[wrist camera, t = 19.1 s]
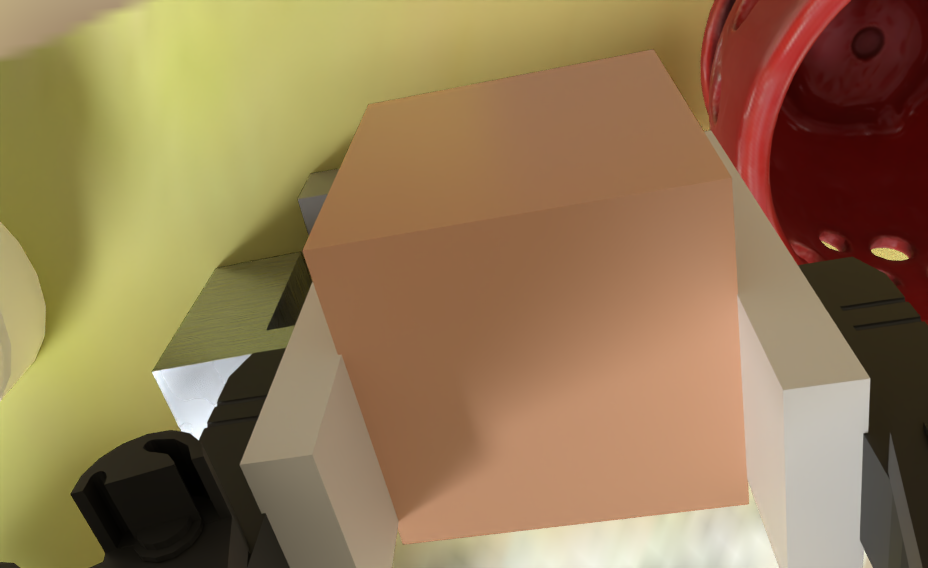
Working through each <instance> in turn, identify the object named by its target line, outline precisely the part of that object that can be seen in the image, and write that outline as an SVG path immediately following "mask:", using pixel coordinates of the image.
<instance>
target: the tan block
mask: <svg viewBox="0 0 928 568" xmlns="http://www.w3.org/2000/svg"><path fill="white" fill-rule="evenodd" d="M302 252H303V255H304V258H305V260H306V263H307V266H308V269H309V272H310V275H311V278H312V281H313V284H314V287H315V290H316V293H317V295H318V298H319V301H320V304H321V307H322V310H323V313H324V316H325V319H326V322H327V325H328V327H329V330H330V333H331V336H332V339H333V342H334V345H335V348H336V351H337V354H338V355H341V354H342V357H343V360H344V363H345V366H346V369H347V372H348V375H349V378H350V381H351V383H352V386H353V389H354V392H355V395H356V398H357V401H358V404H359V407H360V410H361V413H362V416H363V419H364V421H365V424H366V427H367V430H368V433H369V436H370V439H371V442H372V445H373V448H374V451H375V454H376V457H377V459H378V462H379V465H380V468H381V471H382V474H383V477H384V480H385V483H386V486H387V489H388V492H389V495H390V497H391V500H392V503H393V506H394V509H395V512H396V515H397V518H398V521H399V523H398V531H399V534H400V537H401V540H402V543H403V544H412V543H421V542H429V541H438V540H446V539H455V538H463V537H472V536H481V535H489V534H498V533H506V532H515V531H523V530H532V529H541V528H549V527H558V526H566V525H575V524H583V523H592V522H601V521H609V520H618V519H626V518H635V517H643V516H652V515H661V514H669V513H678V512H686V511H695V510H703V509H712V508H721V507H729V506H738V505H746V504H749V493H748V480H747V466H746V448H745V430H744V411H743V393H742V375H741V357H740V338H739V320H738V302H737V294H738V283H737V264H736V245H735V226H734V207H733V188H732V177H731V175H730V174H729V172H728V170H727V169H726V167H725V165H724V164H723V162H722V160H721V159H720V157H719V156H718V154H717V152H716V151H715V149H714V147H713V146H712V144H711V142H710V141H709V139H708V137H707V136H706V134H705V133H704V131H703V129H702V128H701V126H700V124H699V123H698V121H697V119H696V118H695V116H694V115H693V113H692V111H691V110H690V108H689V106H688V105H687V103H686V101H685V100H684V98H683V96H682V95H681V93H680V92H679V90H678V88H677V87H676V85H675V83H674V82H673V80H672V78H671V77H670V75H669V74H668V72H667V70H666V69H665V67H664V65H663V64H662V62H661V60H660V59H659V57H658V55H657V54H656V52H655V51H654V49H652V50H646V51H641V52H636V53H631V54H626V55H621V56H615V57H610V58H605V59H600V60H595V61H590V62H585V63H579V64H574V65H569V66H564V67H559V68H554V69H548V70H543V71H538V72H533V73H528V74H523V75H517V76H512V77H507V78H502V79H497V80H492V81H486V82H481V83H476V84H471V85H466V86H461V87H455V88H450V89H445V90H440V91H435V92H430V93H424V94H419V95H414V96H409V97H404V98H399V99H394V100H388V101H383V102H378V103H373V104H368V106H367V109H366V111H365V113H364V115H363V117H362V120H361V122H360V124H359V126H358V128H357V131H356V133H355V135H354V137H353V139H352V142H351V144H350V146H349V148H348V151H347V153H346V155H345V157H344V159H343V162H342V164H341V166H340V168H339V170H338V173H337V175H336V177H335V179H334V182H333V184H332V186H331V188H330V190H329V193H328V195H327V197H326V199H325V201H324V204H323V206H322V208H321V210H320V212H319V215H318V217H317V219H316V221H315V224H314V226H313V228H312V230H311V232H310V235H309V237H308V239H307V241H306V243H305V246H304V248H303V250H302Z"/></svg>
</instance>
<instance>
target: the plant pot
mask: <svg viewBox="0 0 928 568" xmlns="http://www.w3.org/2000/svg"><path fill="white" fill-rule="evenodd" d="M701 86H702V92H703V97H704V101H705V106H706V109H707V112H708V115H709V123H710V130H711V131H712V132H713V134H714V136H715V137H716V139H717V140H718V142H719V143H720V145H721V146H722V148H723V150H724V151H725V153H726V154H727V156H728V157H729V159H730V160H731V162H732V164H733V165H734V167H735V168H736V170H737V171H738V173H739V175H740V176H741V178H742V179H743V181H744V182H745V184H746V185H747V187H748V189H749V190H750V192H751V193H752V195H753V196H754V198H755V199H756V201H757V203H758V204H759V206H760V207H761V209H762V210H763V212H764V213H765V215H766V217H767V218H768V220H769V221H770V223H771V224H772V226H773V228H774V229H775V231H776V232H777V234H778V235H779V237H780V238H781V240H782V242H783V243H784V245H785V246H786V248H787V249H788V251H789V252H790V254H791V256H792V257H793V259H794V260H795V262H796V263H797V265H802V264H808V263H815V262H821V261H827V260H834V259H840V258H847V257H854V258H856V259H858V260H860V261H862V262H864V263H866V264H868V265H870V266H872V267H874V268H876V269H878V270H879V271H881V272H883V273H885V274H886V275H887V276H888V277H889V278H890V280H891V281H892V282H893V283H894V284H895V286H896V287H897V288H898V289H899V291H900V292H901V293H902V294H903V295H904V297H905V301H906V302H909V303H910V304H911V305H912V306H913V308H914V309H915V310H916V311H917V313H918V314H919V315H920V316H921V321H922V322H923V321H925V322H926V324H927V325H928V0H715V1H714V3H713V6H712V8H711V11H710V14H709V17H708V21H707V24H706V28H705V32H704V37H703V43H702V50H701ZM821 241H824V242H826V243H828V244H830V245H832V246H834V247H835V248H837V249H838V250H839V251H836V250H833V249H829V248H828V247H826V246H825V245H824V244H823V243H822V242H821ZM874 248H890V249H895V250H898V251H900V252H902V253H904V254H905V255H907V256H908V258H909V259H907V260H904V261H892V260H886V259H884V258H881V257H878V256H875V255H874V254H873V253H872V252H871V250H872V249H874Z"/></svg>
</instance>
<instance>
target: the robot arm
mask: <svg viewBox="0 0 928 568" xmlns="http://www.w3.org/2000/svg"><path fill="white" fill-rule="evenodd" d="M704 133H705V134H706V136H707V137H708V139H709V141H710V142H711V144H712V146H713V147H714V149H715V151H716V152H717V154H718V156H719V157H720V159H721V160H722V162H723V164H724V165H725V167H726V169H727V170H728V172H729V174H730V175H731V177H732V188H733V207H734V226H735V245H736V264H737V283H738V294H737V302H738V320H739V338H740V357H741V375H742V393H743V411H744V430H745V448H746V466H747V480H748V483H749V486H750V488H751V491H752V494H753V497H754V499H755V502H756V505H757V508H758V510H759V513H760V516H761V519H762V521H763V524H764V527H765V530H766V532H767V535H768V538H769V541H770V543H771V546H772V549H773V552H774V554H775V557H776V560H777V563H778V566H779V568H863V554H864V550H865V552H866V554H867V556H868V558H869V560H870V562H871V564H872V566H873V568H928V325H927V324H926V322H925V321H923V322H922V321H921V316H920V315H919V314H918V313H917V311H916V310H915V309H914V308H913V306H912V305H911V304H910V303H909V302H906V301H905V297H904V295H903V294H902V293H901V292H900V291H899V289H898V288H897V287H896V286H895V284H894V283H893V282H892V281H891V280H890V278H889V277H888V276H887V275H886V274H885V273H883V272H881V271H879V270H878V269H876V268H874V267H872V266H870V265H868V264H866V263H864V262H862V261H860V260H858V259H856V258H854V257H847V258H840V259H834V260H827V261H821V262H815V263H808V264H802V265H797V263H796V262H795V260H794V259H793V257H792V256H791V254H790V252H789V251H788V249H787V248H786V246H785V245H784V243H783V242H782V240H781V238H780V237H779V235H778V234H777V232H776V231H775V229H774V228H773V226H772V224H771V223H770V221H769V220H768V218H767V217H766V215H765V213H764V212H763V210H762V209H761V207H760V206H759V204H758V203H757V201H756V199H755V198H754V196H753V195H752V193H751V192H750V190H749V189H748V187H747V185H746V184H745V182H744V181H743V179H742V178H741V176H740V175H739V173H738V171H737V170H736V168H735V167H734V165H733V164H732V162H731V160H730V159H729V157H728V156H727V154H726V153H725V151H724V150H723V148H722V146H721V145H720V143H719V142H718V140H717V139H716V137H715V136H714V134H713V132H712V131H711V130H709V131H704ZM71 496H72V498H73V499H74V501H75V503H76V504H77V506H78V508H79V509H80V511H81V513H82V514H83V516H84V518H85V519H86V521H87V523H88V525H89V526H90V528H91V530H92V531H93V533H94V535H95V536H96V538H97V540H98V541H99V543H100V545H101V546H102V548H103V550H104V551H105V557H104V561H103V562H101V563H99V564H97V565H95V566H93V567H90V568H392V565H393V558H394V551H395V544H396V537H397V530H398V523H399V521H398V518H397V515H396V512H395V509H394V506H393V503H392V500H391V497H390V495H389V492H388V489H387V486H386V483H385V480H384V477H383V474H382V471H381V468H380V465H379V462H378V459H377V457H376V454H375V451H374V448H373V445H372V442H371V439H370V436H369V433H368V430H367V427H366V424H365V421H364V419H363V416H362V413H361V410H360V407H359V404H358V401H357V398H356V395H355V392H354V389H353V386H352V383H351V381H350V378H349V375H348V372H347V369H346V366H345V363H344V360H343V357H342V354H341V355H338V354H337V351H336V348H335V345H334V342H333V339H332V336H331V333H330V330H329V327H328V325H327V322H326V319H325V316H324V313H323V310H322V307H321V304H320V301H319V298H318V295H317V293H316V290H315V287H314V284H313V282H312V284H311V287H310V290H309V292H308V295H307V297H306V300H305V302H304V305H303V307H302V310H301V312H300V315H299V317H298V320H297V322H296V325H295V327H294V330H293V332H292V335H291V337H290V340H289V342H288V345H287V347H286V348H282V349H275V350H269V351H262V352H256V353H252V354H251V355H250V356H249V357H248V358H247V359H246V360H245V361H244V362H243V363H242V364H241V365H240V366H239V367H238V368H237V369H236V370H235V371H234V372H233V373H232V374H231V375H230V376H229V377H228V380H227V382H226V384H225V386H224V388H223V390H222V392H221V394H220V396H219V398H218V400H217V407H214V409H213V411H212V413H211V415H210V417H209V419H208V421H207V428H204V430H203V432H202V434H201V436H200V438H199V440H198V439H197V438H195V437H194V436H193V435H192V434H190V433H187V432H180V431H173V430H169V431H163V432H157V433H151V434H146V435H144V436H141V437H139V438H136V439H134V440H131V441H129V442H126V443H123V444H122V445H120V446H119V447H117V448H115V449H114V450H112V451H111V452H109V453H107V454H106V455H104V456H103V457H101V458H100V459H98V460H97V461H96V462H95V463H94V464H93V465H92V466H91V467H90V468H89V469H88V470H87V471H86V472H85V473H84V474H83V475H82V476H81V477H80V479H79V481H78V482H77V484H76V486H75V487H74V489H73V491H72V492H71ZM0 568H20V567H18V566H17V565H16V564H15V563H6V562H0Z"/></svg>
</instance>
